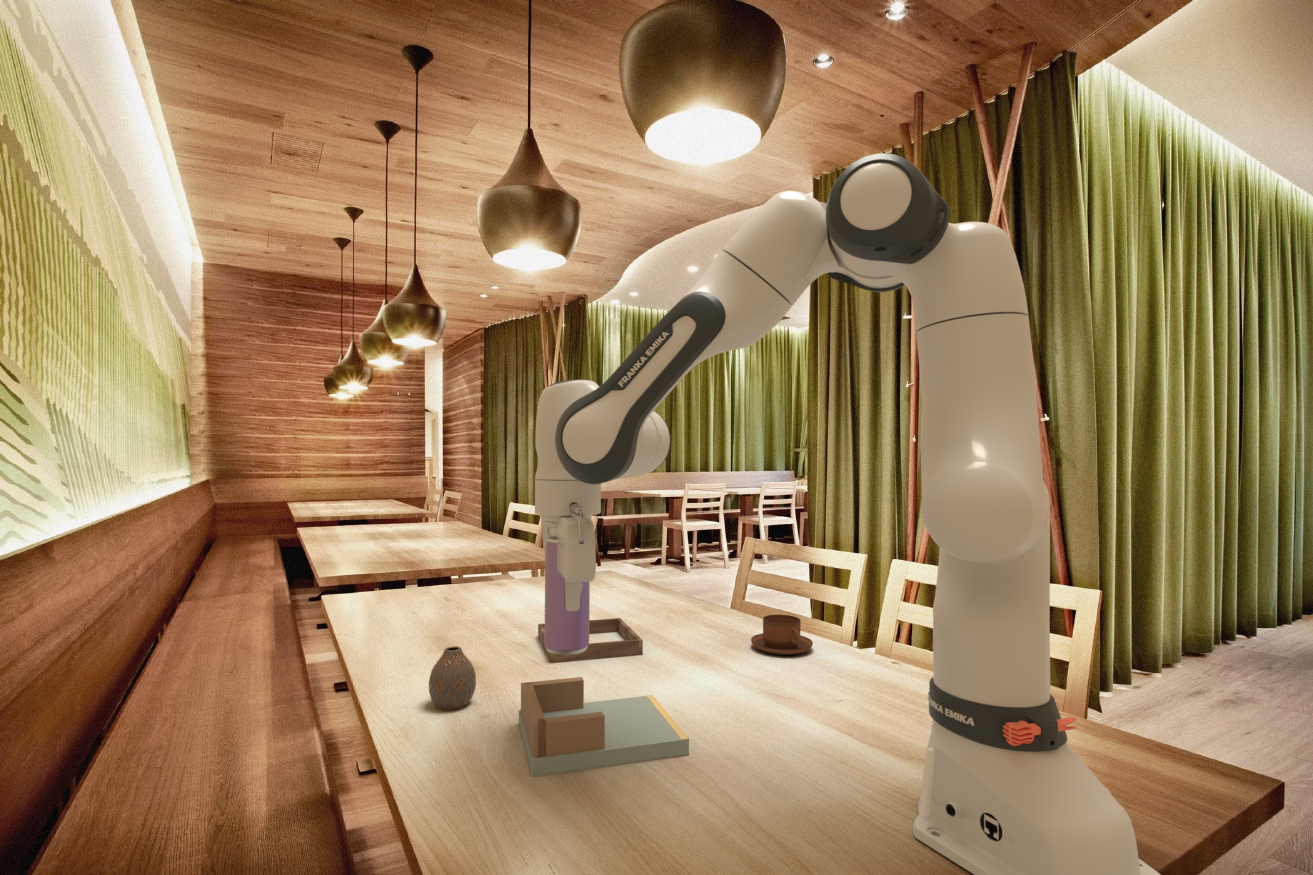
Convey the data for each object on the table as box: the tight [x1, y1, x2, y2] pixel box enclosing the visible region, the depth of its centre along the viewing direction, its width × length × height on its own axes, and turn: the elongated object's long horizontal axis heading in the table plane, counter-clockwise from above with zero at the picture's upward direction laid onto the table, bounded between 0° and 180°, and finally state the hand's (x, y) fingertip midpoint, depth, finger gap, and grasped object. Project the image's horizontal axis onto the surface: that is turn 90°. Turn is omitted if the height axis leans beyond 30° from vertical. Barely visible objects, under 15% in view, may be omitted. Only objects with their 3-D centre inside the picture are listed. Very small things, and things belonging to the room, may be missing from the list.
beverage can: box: [544, 536, 591, 655], centre depth 89 cm, size 6×6×15 cm
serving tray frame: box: [537, 617, 644, 664], centre depth 131 cm, size 18×18×3 cm
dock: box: [518, 676, 690, 778], centre depth 89 cm, size 16×20×6 cm
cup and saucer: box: [750, 614, 814, 656], centre depth 130 cm, size 12×12×6 cm
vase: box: [428, 645, 477, 711], centre depth 101 cm, size 7×7×9 cm
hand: (567, 603), depth 88 cm, fingers closed on beverage can, 5 cm apart
